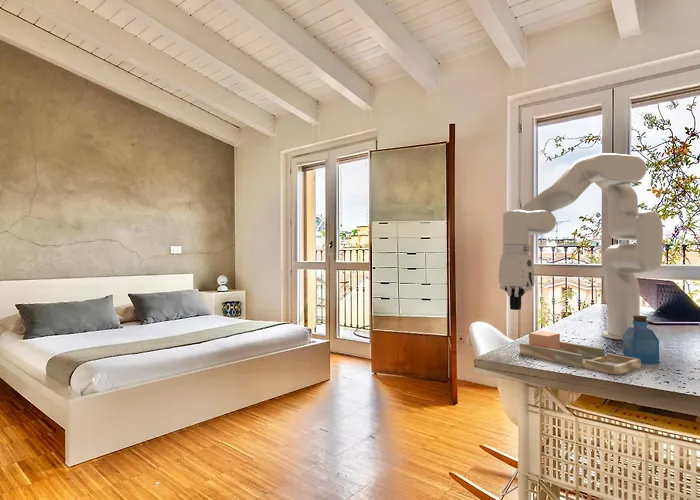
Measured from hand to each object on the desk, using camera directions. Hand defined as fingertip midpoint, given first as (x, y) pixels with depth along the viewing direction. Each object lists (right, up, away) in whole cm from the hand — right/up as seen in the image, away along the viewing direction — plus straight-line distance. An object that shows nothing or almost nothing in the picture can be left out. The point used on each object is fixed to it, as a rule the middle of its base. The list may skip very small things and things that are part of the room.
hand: (515, 309), depth 134 cm
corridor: (+11, -12, -15) cm, 22 cm away
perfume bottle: (+28, -12, -17) cm, 34 cm away
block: (+6, -12, -7) cm, 15 cm away
